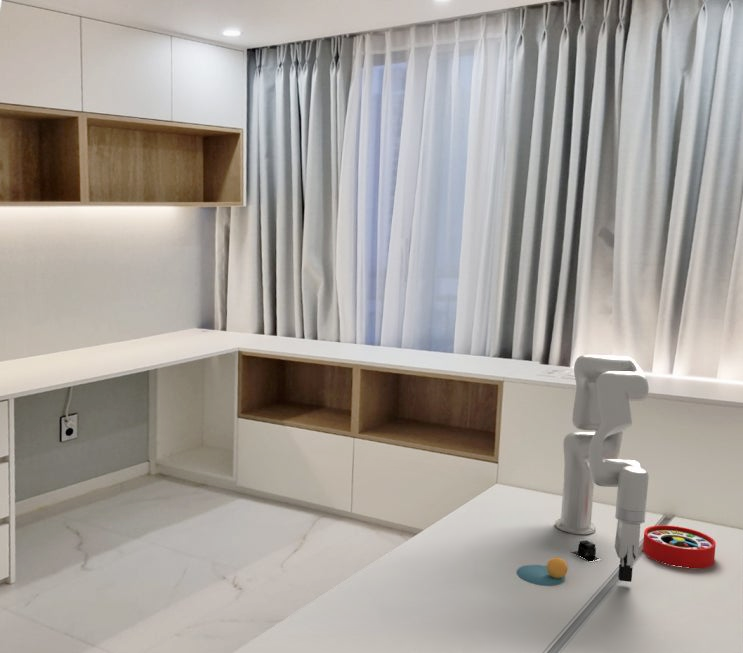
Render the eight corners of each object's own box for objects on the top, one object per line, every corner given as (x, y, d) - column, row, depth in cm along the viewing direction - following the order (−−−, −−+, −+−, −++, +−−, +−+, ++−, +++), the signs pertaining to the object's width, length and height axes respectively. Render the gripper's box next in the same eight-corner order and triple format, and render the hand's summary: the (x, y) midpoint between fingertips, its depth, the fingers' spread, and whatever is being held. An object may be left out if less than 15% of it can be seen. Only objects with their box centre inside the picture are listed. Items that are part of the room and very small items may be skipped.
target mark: (516, 563, 222) (517, 562, 222) (563, 568, 220) (564, 568, 220) (516, 581, 209) (516, 581, 209) (566, 588, 207) (566, 587, 207)
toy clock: (664, 520, 248) (727, 540, 233) (662, 538, 249) (725, 559, 234) (631, 533, 235) (696, 555, 220) (629, 552, 235) (694, 575, 220)
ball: (557, 575, 216) (542, 563, 216) (570, 562, 215) (555, 549, 215) (559, 586, 211) (543, 573, 211) (572, 572, 210) (556, 559, 210)
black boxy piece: (562, 552, 234) (563, 537, 233) (581, 548, 237) (582, 534, 237) (592, 567, 223) (593, 552, 223) (611, 564, 227) (612, 548, 226)
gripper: (612, 503, 217) (607, 567, 218) (619, 521, 202) (613, 589, 204) (640, 506, 215) (635, 570, 217) (649, 524, 201) (643, 593, 202)
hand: (624, 579), depth 210 cm, fingers closed
